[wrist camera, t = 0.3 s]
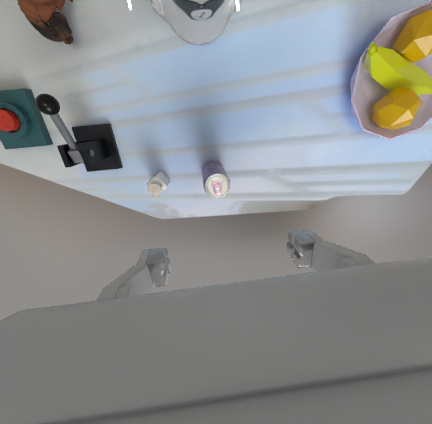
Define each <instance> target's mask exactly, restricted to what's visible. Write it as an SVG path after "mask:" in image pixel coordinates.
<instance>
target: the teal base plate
mask: <svg viewBox="0 0 432 424" xmlns="http://www.w3.org/2000/svg"><path fill="white" fill-rule="evenodd" d="M0 109H3V110H9V111H11V112H13V113H14V114H15V115H16V116H17V117H18V119H19V121H20V127H19V129H17V130H16V131H3V130H0V139H1V141H2V143H3V145H4V147H5V149H13V148H24V147H34V146H45V145H52V144H53V143H52V140H51V138H50V135H49V133H48V130H47V128H46V125H45V123H44V120H43V118H42V115H41V113H40V110H39V109H38V107H37V106H36V102H35V98H34V96H33V93H32V91H31V90H28V89H14V90H3V91H0Z"/></svg>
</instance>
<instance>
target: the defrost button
mask: <svg viewBox="0 0 432 424" xmlns="http://www.w3.org/2000/svg"><path fill="white" fill-rule="evenodd" d="M19 127H20V121H19V119H18V117H17V116H16V115H15V114H14V113H13V112H11V111H9V110H3V109H0V130H3V131H16V130H17V129H19Z"/></svg>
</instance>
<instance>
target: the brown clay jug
mask: <svg viewBox="0 0 432 424" xmlns="http://www.w3.org/2000/svg"><path fill="white" fill-rule="evenodd" d="M70 1H71V2H73V0H70ZM18 4H19V6H20V9H21V10H22V12H23V13H24V14H25V16H26V18H27V19H28V20H29V22H30V23H31V24H32V26H33V27H34V28H35V29H36V30H38V31H39V32H40V33H41V34H42V35H43V36H44V37H46V38H47V39H50V40H52V41H58V42H62V41H64V43H65V44H71V43H73V37H72V35H71V34H72V32H71V29H70V28H69V26H68V22H67V20H66V18H65V17H64V16H63V15H62V14H61V13H59V12H55V10H56V8H58V9H59V10H60V11H61V10H62V8H63V6H64V4H65V0H18ZM44 21H45V22H48V23H49V25H50V26H48V25H47V24H46V23H45V22H44Z"/></svg>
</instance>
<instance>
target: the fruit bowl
mask: <svg viewBox="0 0 432 424" xmlns="http://www.w3.org/2000/svg"><path fill="white" fill-rule="evenodd" d="M350 91H351V104H352V113H353V114H354V116H355V118H356V119H357V121H358V123H359V124H360V126H361V128H362V129H363V130H364V131H366V132H369V133H372V134H374V135H377V136H380V137H382V138H385V139H388V140H391V139H394V138H396V137H399V136H402V135H405V134H407V133H410V132H413V131H416V130H419V129H421V128H423V127H424V126H425V124H426V123H427V122H428V121H429V120H430V119H431V118H432V1H430V2H427V3H425V4H422V5H420V6H417V7H415V8H412V9H410V10H407V11H405V12H402V13H400V14H397V15H395V16H392V17H391V19H390V20H389V21H388V22H387V23H386V25H385V26H384V27H383V28H382V30H381V31H380V32H379V33H378V34H377V36H376V37H375V38H374V39H373V41H372V42H371V43H370V44H369V46H368V47H367V48H366V50H365V51H364V53H363V54H362V56H361V57H360V60H359V62H358V64H357V66H356V69H355V71H354V73H353V76H352V78H351V80H350Z"/></svg>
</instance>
